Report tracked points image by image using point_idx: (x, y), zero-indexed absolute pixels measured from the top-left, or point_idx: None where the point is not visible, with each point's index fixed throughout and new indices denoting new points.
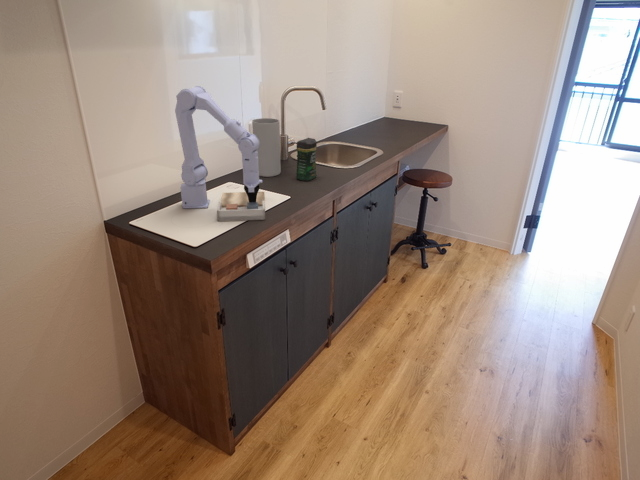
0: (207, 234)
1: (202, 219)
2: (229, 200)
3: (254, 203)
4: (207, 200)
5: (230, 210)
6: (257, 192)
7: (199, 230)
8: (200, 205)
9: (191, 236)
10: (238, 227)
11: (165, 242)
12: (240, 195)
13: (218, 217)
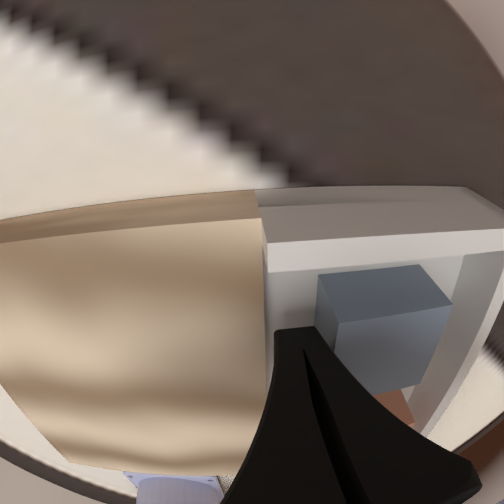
0: (480, 402)
1: None
2: (176, 454)
3: (374, 347)
4: (137, 476)
5: (430, 431)
6: (431, 441)
7: (439, 431)
8: (212, 490)
9: (466, 428)
10: (491, 330)
11: (462, 450)
12: (63, 411)
13: None
